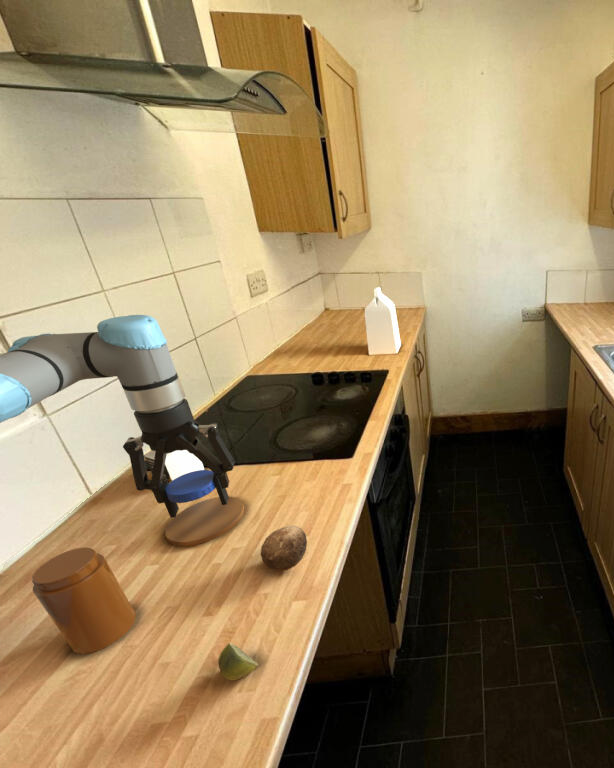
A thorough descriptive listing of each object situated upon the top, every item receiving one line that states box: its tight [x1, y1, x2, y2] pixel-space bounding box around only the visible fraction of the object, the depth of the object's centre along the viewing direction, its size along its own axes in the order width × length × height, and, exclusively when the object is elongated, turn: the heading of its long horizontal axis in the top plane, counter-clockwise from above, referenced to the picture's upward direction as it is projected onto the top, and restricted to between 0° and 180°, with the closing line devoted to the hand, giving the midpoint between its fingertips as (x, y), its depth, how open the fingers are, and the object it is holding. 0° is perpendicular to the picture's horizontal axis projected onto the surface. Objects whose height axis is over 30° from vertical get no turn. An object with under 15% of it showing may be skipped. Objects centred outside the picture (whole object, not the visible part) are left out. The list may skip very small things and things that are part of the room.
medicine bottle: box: [144, 446, 205, 483], centre depth 95 cm, size 7×7×12 cm
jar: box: [31, 546, 137, 655], centre depth 60 cm, size 7×7×14 cm
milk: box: [364, 286, 402, 356], centre depth 173 cm, size 12×12×26 cm
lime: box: [217, 642, 259, 681], centre depth 56 cm, size 4×5×5 cm
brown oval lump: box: [260, 524, 308, 572], centre depth 74 cm, size 8×8×6 cm
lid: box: [166, 469, 216, 504], centre depth 80 cm, size 8×8×2 cm
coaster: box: [164, 496, 245, 547], centre depth 84 cm, size 13×13×1 cm
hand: (200, 506), depth 82 cm, fingers closed on lid, 8 cm apart
